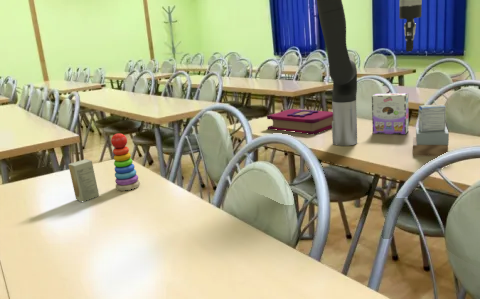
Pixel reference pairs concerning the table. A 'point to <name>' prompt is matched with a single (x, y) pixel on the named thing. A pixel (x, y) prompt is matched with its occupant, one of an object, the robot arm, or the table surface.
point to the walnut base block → (428, 149)
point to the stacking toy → (123, 164)
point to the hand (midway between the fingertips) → (409, 50)
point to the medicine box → (432, 118)
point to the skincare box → (83, 180)
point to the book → (302, 120)
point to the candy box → (390, 113)
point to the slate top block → (432, 137)
